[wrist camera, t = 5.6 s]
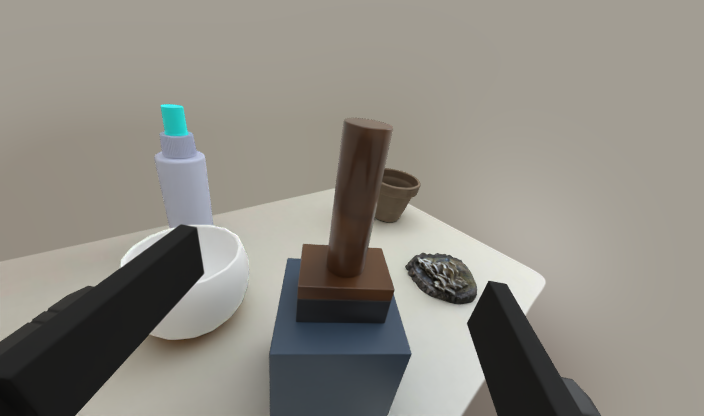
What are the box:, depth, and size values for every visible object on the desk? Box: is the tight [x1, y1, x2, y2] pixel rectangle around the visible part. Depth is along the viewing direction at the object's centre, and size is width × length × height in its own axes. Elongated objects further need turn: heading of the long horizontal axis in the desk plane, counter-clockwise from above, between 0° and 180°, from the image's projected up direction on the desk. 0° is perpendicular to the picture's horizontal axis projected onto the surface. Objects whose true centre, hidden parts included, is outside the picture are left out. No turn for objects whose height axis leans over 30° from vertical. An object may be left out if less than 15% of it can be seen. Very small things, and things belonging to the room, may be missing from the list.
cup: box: [120, 225, 249, 340], centre depth 30 cm, size 12×12×10 cm
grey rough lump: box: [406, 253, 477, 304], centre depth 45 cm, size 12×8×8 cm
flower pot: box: [375, 168, 420, 222], centre depth 60 cm, size 12×11×10 cm
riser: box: [269, 258, 411, 416], centre depth 25 cm, size 10×10×12 cm
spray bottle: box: [154, 104, 214, 228], centre depth 39 cm, size 6×6×22 cm
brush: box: [296, 118, 394, 323], centre depth 19 cm, size 7×5×15 cm
